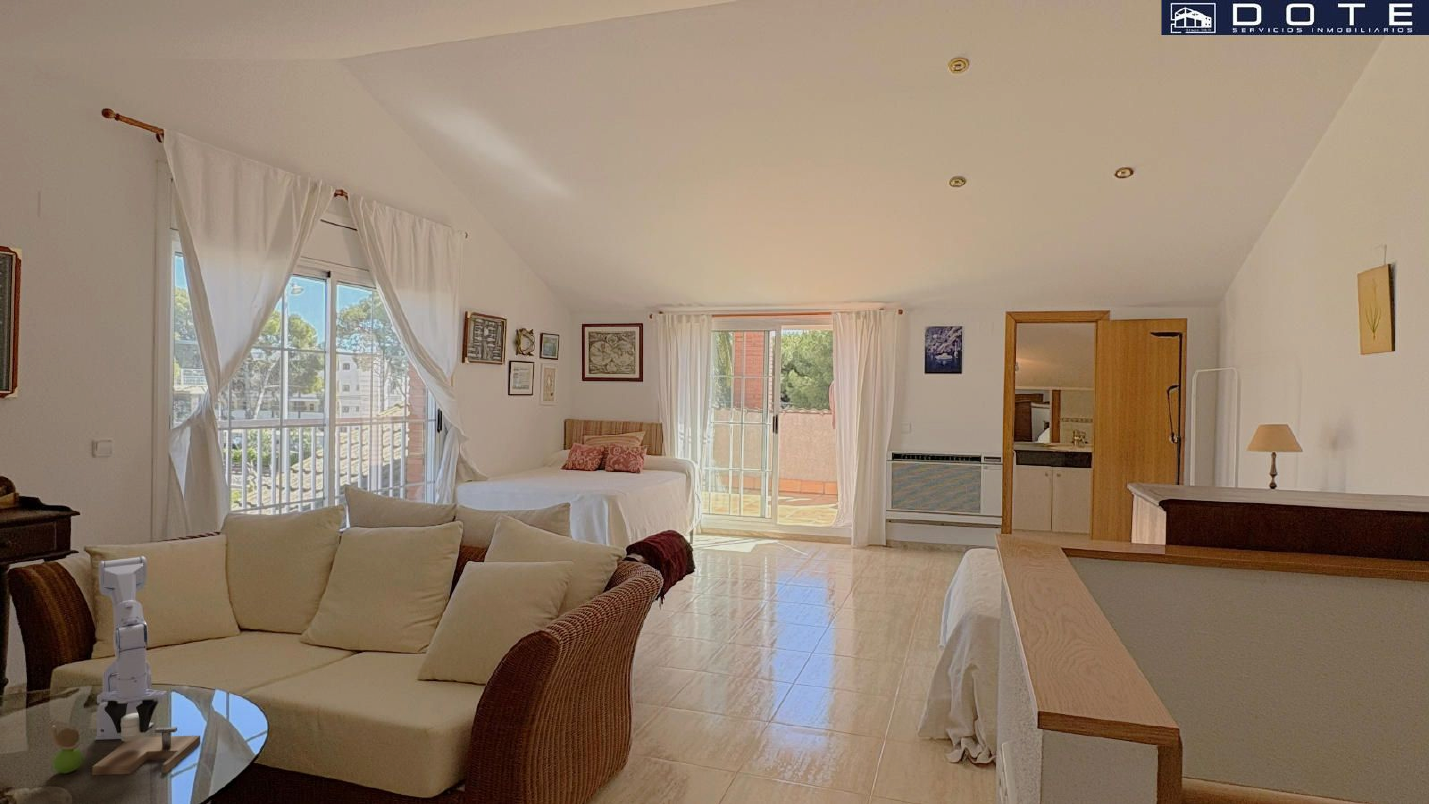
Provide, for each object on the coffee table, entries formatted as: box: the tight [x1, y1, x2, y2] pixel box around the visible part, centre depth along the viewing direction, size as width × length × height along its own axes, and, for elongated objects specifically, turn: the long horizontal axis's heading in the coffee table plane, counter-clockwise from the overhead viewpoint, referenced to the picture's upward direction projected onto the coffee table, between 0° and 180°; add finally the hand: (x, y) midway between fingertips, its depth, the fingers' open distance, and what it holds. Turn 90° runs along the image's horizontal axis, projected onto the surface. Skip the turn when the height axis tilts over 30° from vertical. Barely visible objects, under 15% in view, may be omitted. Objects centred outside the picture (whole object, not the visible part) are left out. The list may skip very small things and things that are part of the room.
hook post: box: [154, 726, 178, 750], centre depth 190 cm, size 4×2×5 cm, turn 96°
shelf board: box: [92, 735, 201, 776], centre depth 189 cm, size 16×14×2 cm
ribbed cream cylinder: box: [121, 713, 145, 742], centre depth 189 cm, size 5×5×5 cm
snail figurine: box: [47, 720, 84, 774], centre depth 182 cm, size 5×6×12 cm
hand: (132, 730), depth 189 cm, fingers closed on ribbed cream cylinder, 5 cm apart
